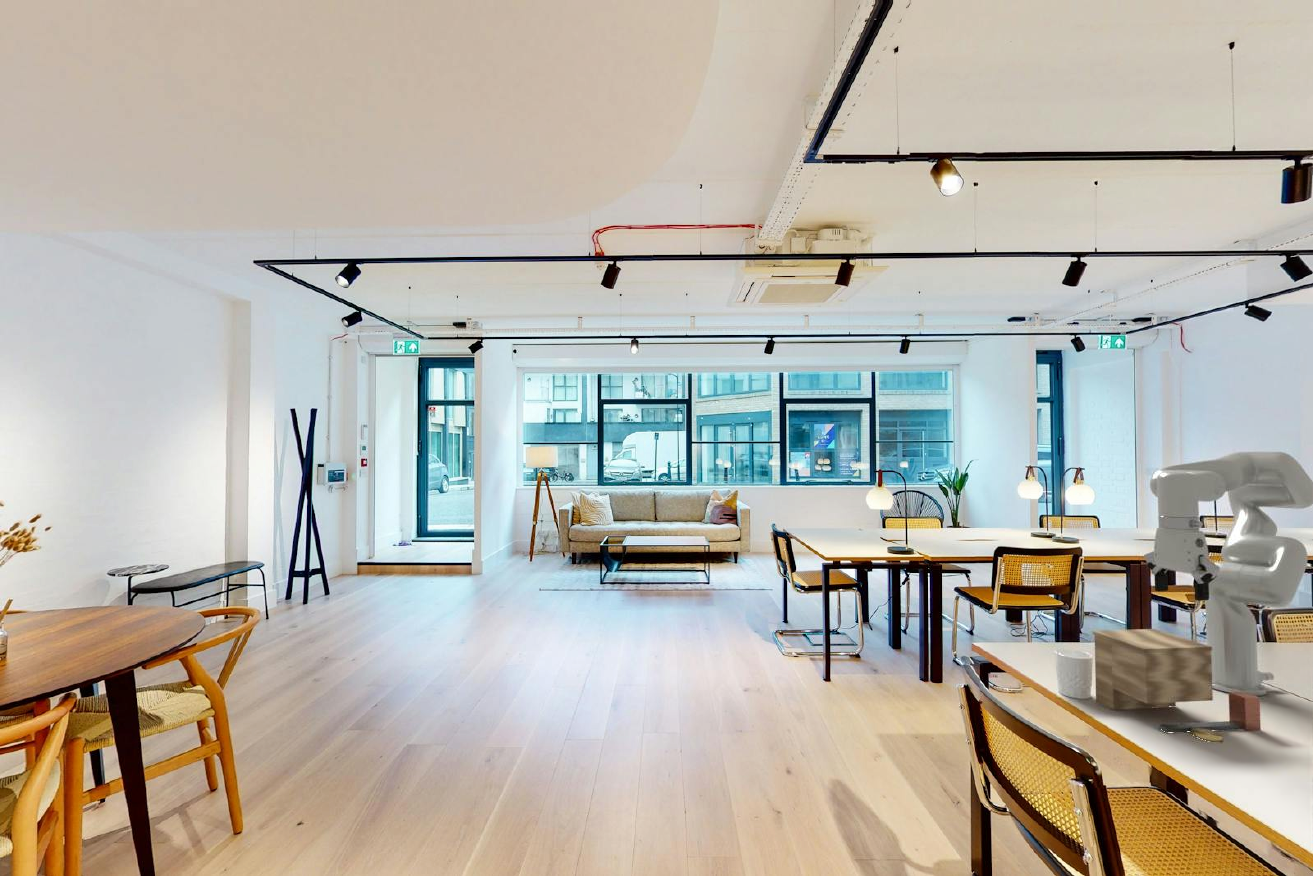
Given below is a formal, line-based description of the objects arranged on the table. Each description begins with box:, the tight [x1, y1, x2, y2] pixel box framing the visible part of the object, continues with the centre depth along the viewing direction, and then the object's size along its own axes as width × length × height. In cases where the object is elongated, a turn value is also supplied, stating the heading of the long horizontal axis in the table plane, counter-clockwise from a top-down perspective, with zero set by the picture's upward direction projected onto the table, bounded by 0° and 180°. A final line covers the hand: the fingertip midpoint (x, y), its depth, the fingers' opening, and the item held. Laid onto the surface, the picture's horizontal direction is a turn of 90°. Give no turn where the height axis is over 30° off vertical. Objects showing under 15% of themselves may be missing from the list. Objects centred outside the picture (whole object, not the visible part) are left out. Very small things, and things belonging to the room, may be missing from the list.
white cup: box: [1054, 648, 1094, 700], centre depth 156 cm, size 8×8×10 cm
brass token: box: [1190, 728, 1224, 743], centre depth 132 cm, size 5×5×1 cm
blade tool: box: [1158, 692, 1262, 733], centre depth 136 cm, size 21×4×7 cm, turn 96°
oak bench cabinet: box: [1092, 628, 1214, 711], centre depth 145 cm, size 16×14×17 cm
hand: (1181, 595), depth 150 cm, fingers open, 9 cm apart
